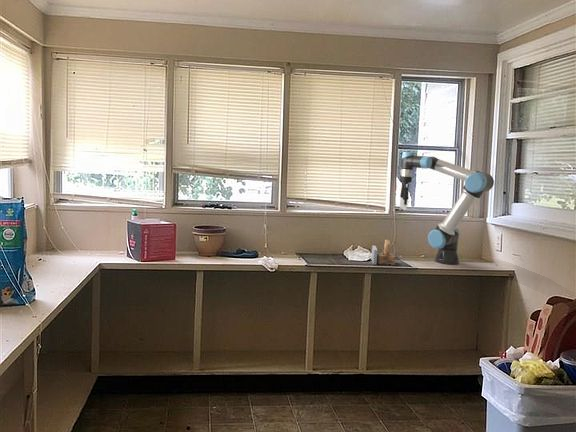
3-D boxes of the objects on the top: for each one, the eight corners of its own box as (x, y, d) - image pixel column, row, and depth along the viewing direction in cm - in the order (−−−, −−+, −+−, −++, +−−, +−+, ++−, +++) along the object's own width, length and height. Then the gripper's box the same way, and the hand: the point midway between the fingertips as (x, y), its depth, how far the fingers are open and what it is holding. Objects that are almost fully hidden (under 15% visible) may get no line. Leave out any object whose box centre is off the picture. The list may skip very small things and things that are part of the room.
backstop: (374, 259, 380) (375, 245, 379) (376, 264, 364) (377, 250, 363) (370, 259, 380) (372, 245, 379) (373, 264, 364) (374, 249, 363)
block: (392, 261, 376) (393, 253, 376) (394, 264, 366) (395, 256, 366) (376, 260, 377) (377, 252, 376) (378, 263, 367) (378, 255, 366)
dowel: (387, 260, 373) (389, 240, 371) (388, 261, 370) (390, 240, 368) (382, 260, 373) (384, 239, 371) (383, 261, 370) (385, 240, 368)
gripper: (397, 174, 403) (395, 206, 406) (402, 176, 378) (399, 210, 381) (409, 175, 403) (406, 207, 405) (414, 177, 378) (411, 211, 381)
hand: (403, 208), depth 393 cm, fingers open, 13 cm apart
